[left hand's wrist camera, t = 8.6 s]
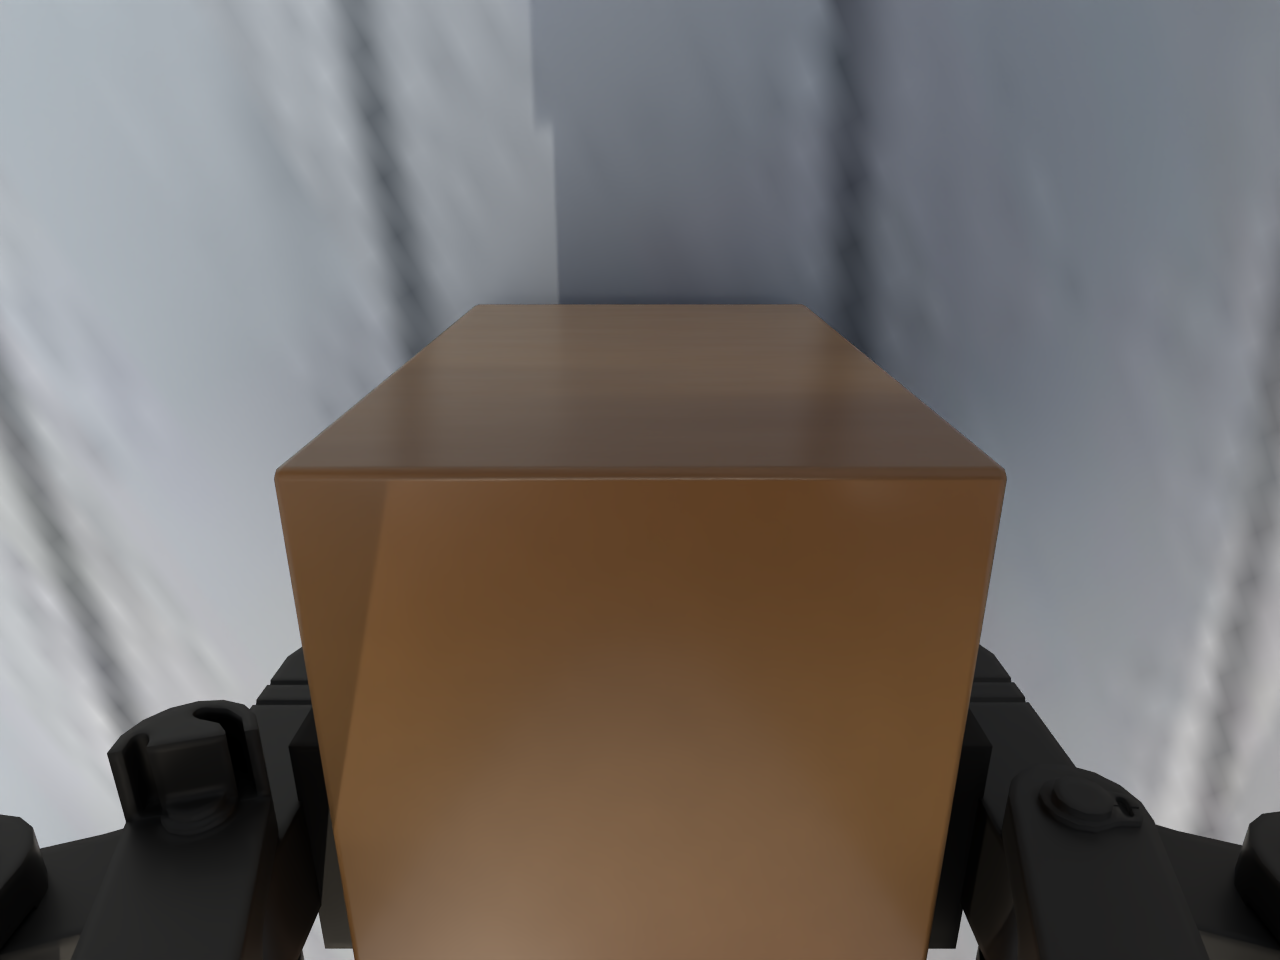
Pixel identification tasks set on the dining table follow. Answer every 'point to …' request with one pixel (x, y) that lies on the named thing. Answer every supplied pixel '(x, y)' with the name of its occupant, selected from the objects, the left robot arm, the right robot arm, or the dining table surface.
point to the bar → (640, 638)
